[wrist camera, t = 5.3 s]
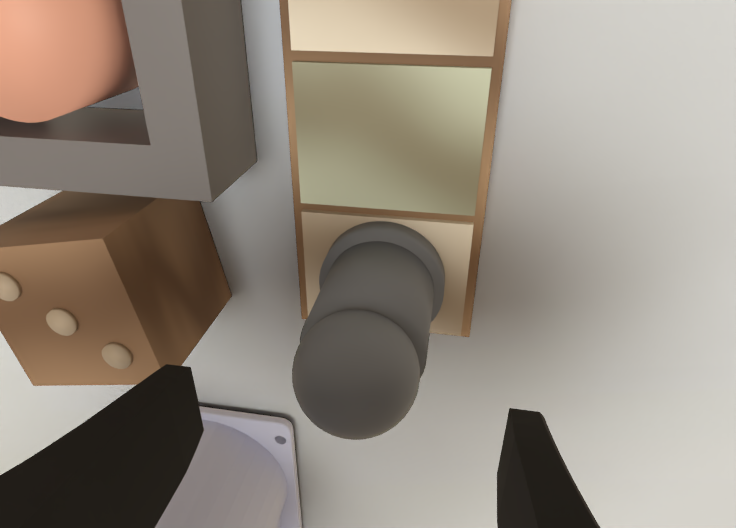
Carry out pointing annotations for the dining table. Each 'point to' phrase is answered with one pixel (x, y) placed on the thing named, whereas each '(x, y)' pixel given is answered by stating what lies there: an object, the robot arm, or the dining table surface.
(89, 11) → the plunger
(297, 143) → the track board
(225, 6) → the frame
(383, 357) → the pawn
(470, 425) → the dining table surface
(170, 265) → the die
